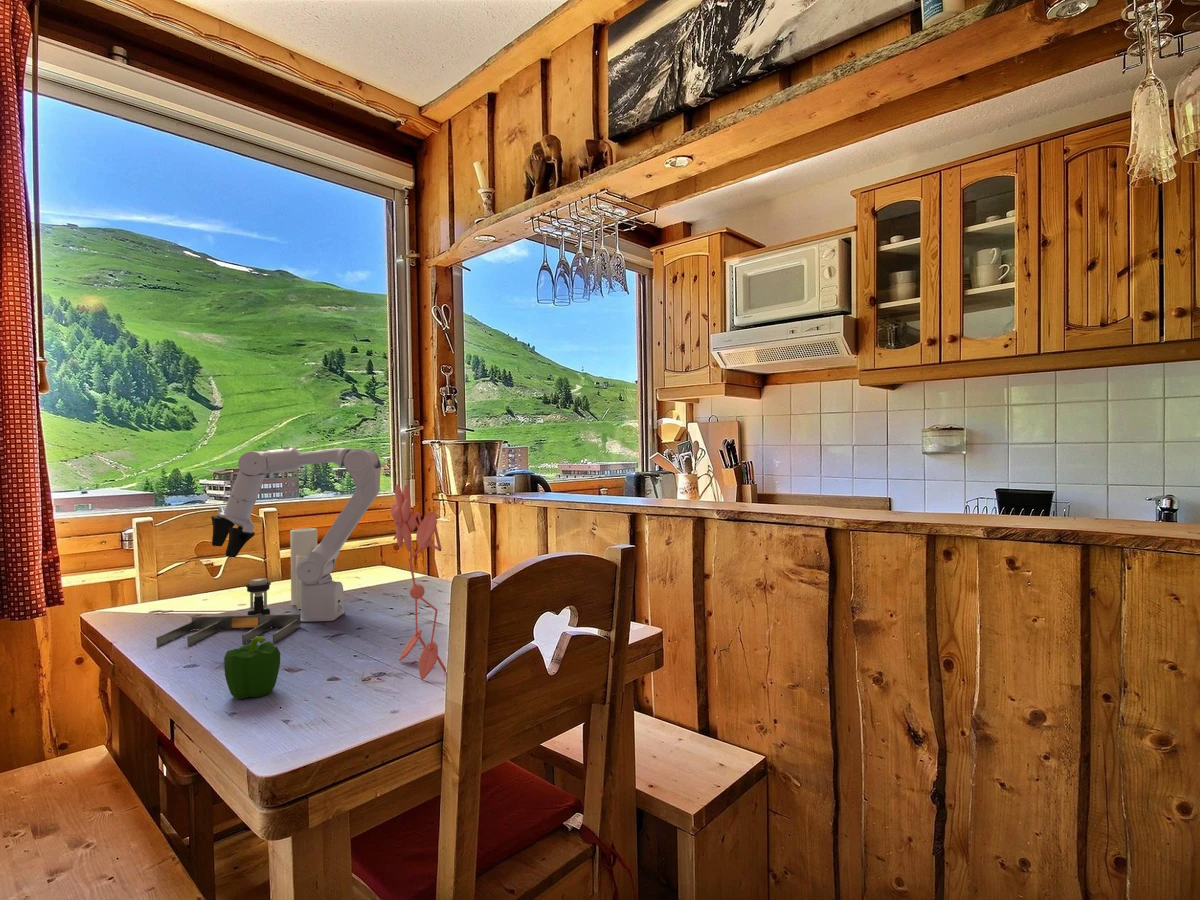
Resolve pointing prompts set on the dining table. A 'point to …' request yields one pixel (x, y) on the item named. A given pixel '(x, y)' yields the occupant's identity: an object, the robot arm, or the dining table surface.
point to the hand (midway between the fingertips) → (223, 551)
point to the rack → (235, 626)
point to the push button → (258, 596)
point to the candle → (300, 556)
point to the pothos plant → (427, 527)
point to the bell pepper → (252, 669)
